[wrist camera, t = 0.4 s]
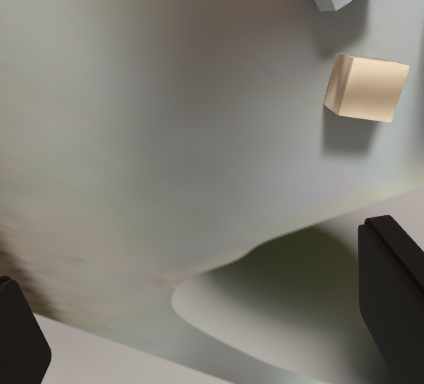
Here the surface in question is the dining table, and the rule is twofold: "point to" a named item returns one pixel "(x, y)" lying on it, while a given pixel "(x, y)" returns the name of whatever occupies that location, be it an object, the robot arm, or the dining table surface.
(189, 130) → the dining table surface
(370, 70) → the maple cube
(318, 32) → the dining table surface
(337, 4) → the slate painted cube
